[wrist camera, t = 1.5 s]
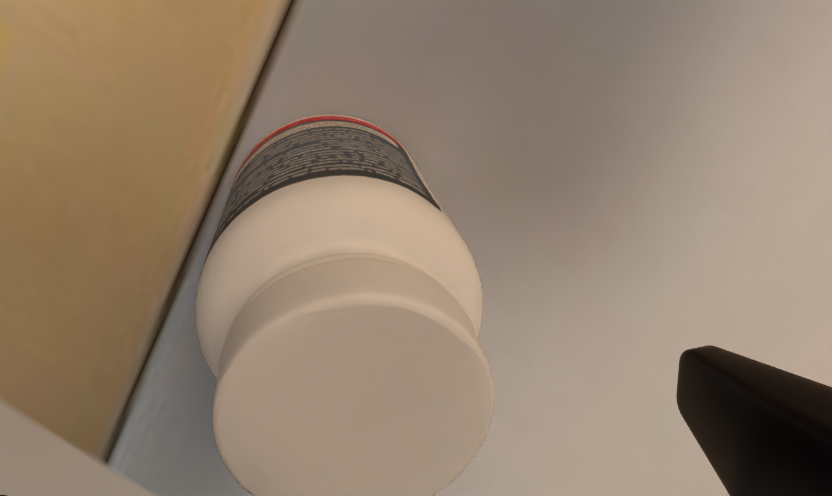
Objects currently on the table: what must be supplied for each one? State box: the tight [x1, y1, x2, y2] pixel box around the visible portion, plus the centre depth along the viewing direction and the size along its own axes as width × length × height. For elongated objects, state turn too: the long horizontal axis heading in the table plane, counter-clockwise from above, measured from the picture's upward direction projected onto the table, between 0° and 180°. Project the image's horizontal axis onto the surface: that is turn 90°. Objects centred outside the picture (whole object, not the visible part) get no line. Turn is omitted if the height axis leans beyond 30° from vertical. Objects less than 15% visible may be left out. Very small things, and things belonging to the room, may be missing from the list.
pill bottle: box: [195, 114, 494, 496], centre depth 12 cm, size 5×5×9 cm
